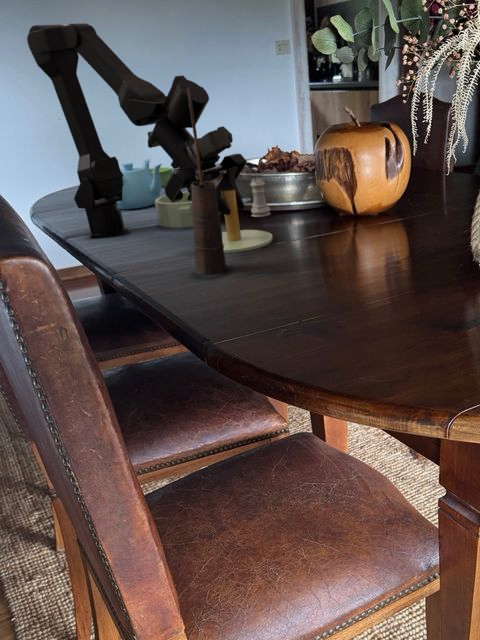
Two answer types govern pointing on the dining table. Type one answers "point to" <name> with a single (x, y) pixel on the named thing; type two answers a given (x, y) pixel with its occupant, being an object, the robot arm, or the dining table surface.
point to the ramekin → (163, 174)
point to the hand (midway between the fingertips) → (236, 211)
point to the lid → (239, 238)
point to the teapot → (139, 186)
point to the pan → (174, 211)
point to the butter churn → (205, 219)
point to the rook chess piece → (259, 199)
